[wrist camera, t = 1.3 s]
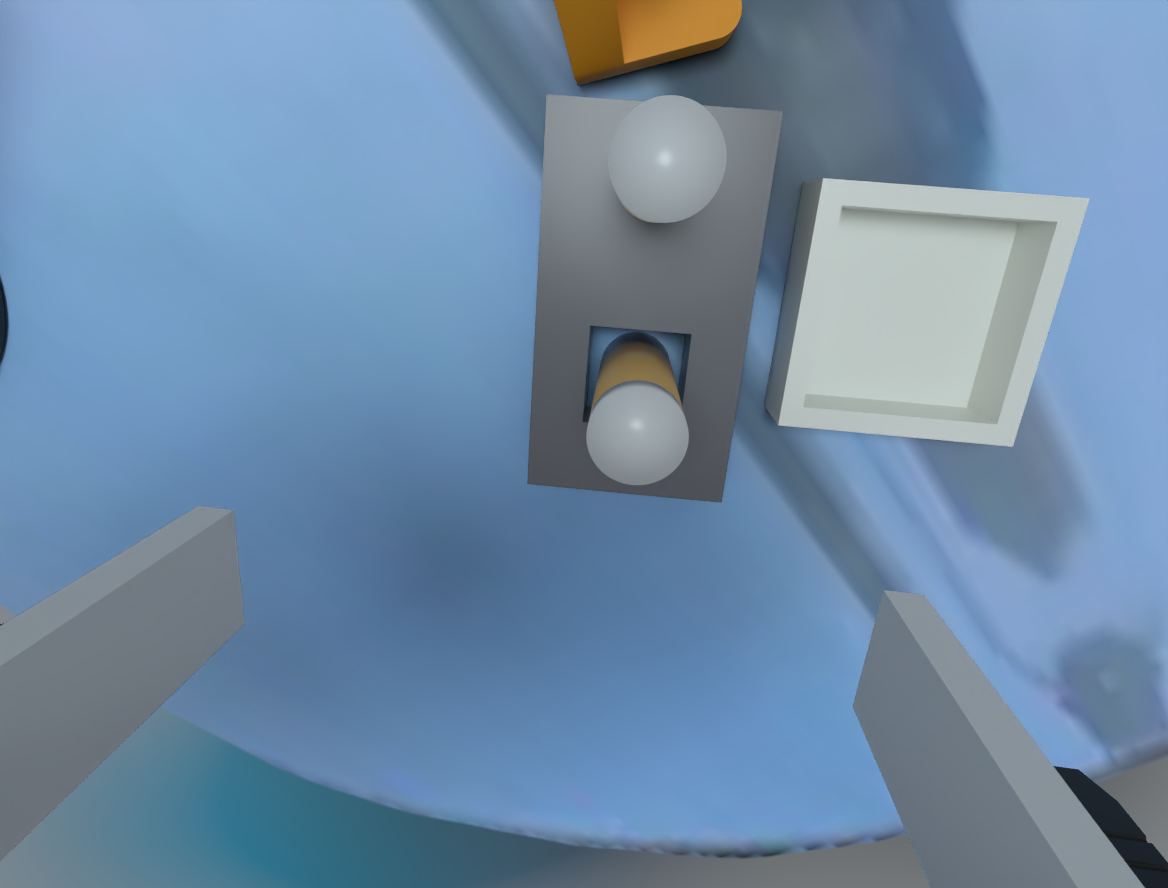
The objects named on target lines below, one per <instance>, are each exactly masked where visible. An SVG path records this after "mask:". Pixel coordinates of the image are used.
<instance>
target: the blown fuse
mask: <svg viewBox="0 0 1168 888" xmlns="http://www.w3.org/2000/svg"><path fill="white" fill-rule="evenodd" d="M586 440H587V447H588V451H589V454H590V456H591V458H592V460H593V462H594V463H595V464H596V466H597V467H598V468H599V469H600V470H601V471H602V472H603V473H604V474H605V475H607V476H608V477H610V478H611V479H613V480H615V481H618V482H620V483H624V484H629V485H646V484H651V483H654V482H657V481H659V480H661V479H664V478H665V477H667V476H668V475H670V474H671V473H672V472H673V471H674V470H675V469H676V468H677V467H678V466H679V464H680V463H681V462H682V460H683V458H684V456H685V454H686V451H687V447H688V441H689V432H688V426H687V422H686V418H685V415H684V411H683V407H682V404H681V400H680V397H679V393H678V389H677V386H676V382H675V379H674V375H673V371H672V368H671V364H670V361H669V357H668V354H667V351H666V350H665V348H664V346H663V345H662V344H661V343H660V342H659V341H658V340H657V339H656V338H654V337H653V336H651V335H648V334H645V333H641V332H631V333H626V334H623V335H621V336H619V337H617V338H616V339H614V340H613V341H612V342H611V343H610V344H609V345H608V347H607V348H606V350H605V352H604V354H603V357H602V361H601V366H600V370H599V375H598V380H597V384H596V389H595V394H594V399H593V403H592V408H591V413H590V417H589V422H588V427H587V433H586Z"/></svg>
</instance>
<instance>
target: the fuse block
mask: <svg viewBox="0 0 1168 888" xmlns="http://www.w3.org/2000/svg"><path fill="white" fill-rule="evenodd" d="M782 117H783V111H773V110H759V109H745V108H731V107H717V106H703V105H700V104H699V103H697V102H696V101H694V100H691V99H689V98H686V97H682V96H676V95H665V96H658V97H655V98H651V99H649V100H647V101H632V100H618V99H604V98H590V97H576V96H562V95H548V94H547V99H546V119H545V140H544V160H543V180H542V200H541V221H540V241H539V261H538V281H537V301H536V322H535V342H534V362H533V382H532V402H531V423H530V443H529V463H528V483H527V484H534V485H544V486H555V487H565V488H576V489H586V490H596V491H607V492H617V493H628V494H638V495H648V496H659V497H669V498H680V499H690V500H700V501H711V502H722V496H723V490H724V483H725V477H726V471H727V464H728V458H729V452H730V445H731V439H732V433H733V427H734V420H735V414H736V408H737V401H738V395H739V389H740V382H741V376H742V370H743V363H744V357H745V351H746V344H747V338H748V332H749V325H750V319H751V313H752V306H753V300H754V294H755V288H756V281H757V275H758V269H759V262H760V256H761V250H762V243H763V237H764V231H765V224H766V218H767V212H768V205H769V199H770V193H771V186H772V180H773V174H774V167H775V161H776V155H777V149H778V142H779V136H780V130H781V123H782ZM593 326H602V327H613V328H625V329H637V330H648V331H660V332H672V333H683V334H685V341H684V349H683V357H682V365H681V373H680V381H679V389H678V393H679V397H680V400H681V404H682V407H683V411H684V415H685V418H686V422H687V426H688V432H689V441H688V447H687V451H686V454H685V456H684V458H683V460H682V462H681V463H680V464H679V466H678V467H677V468H676V469H675V470H674V471H673V472H672V473H671V474H670V475H668V476H667V477H665V478H664V479H661V480H659V481H657V482H654V483H651V484H646V485H629V484H624V483H620V482H618V481H615V480H613V479H611V478H610V477H608V476H607V475H605V474H604V473H603V472H602V471H601V470H600V469H599V468H598V467H597V466H596V464H595V463H594V462H593V460H592V458H591V456H590V454H589V451H588V447H587V440H586V433H587V427H588V422H589V417H590V413H591V408H592V406H587V394H588V381H589V368H590V355H591V343H592V330H593Z"/></svg>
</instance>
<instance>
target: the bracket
mask: <svg viewBox="0 0 1168 888" xmlns="http://www.w3.org/2000/svg"><path fill="white" fill-rule="evenodd" d="M554 2H555V6H556V10H557V13H558V17H559V21H560V25H561V28H562V32H563V36H564V40H565V43H566V47H567V51H568V55H569V59H570V62H571V66H572V70H573V74H574V77H575V80H576V82H577V85H582V84H586V83H590V82H593V81H597V80H601V79H605V78H608V77H612V76H616V75H620V74H624V73H627V72H631V71H635V70H639V69H642V68H646V67H650V66H654V65H657V64H661V63H665V62H669V61H673V60H676V59H680V58H684V57H688V56H691V55H695V54H699V53H703V52H707V51H710V50H714V49H717V48H719V47H721V46H723V45H724V44H725V43H726V42H727V41H728V40H729V38H730V37H731V35H732V33H733V31H734V29H735V27H736V26H737V24H738V22H739V19H740V16H741V12H742V2H741V0H554Z"/></svg>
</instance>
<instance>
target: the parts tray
mask: <svg viewBox="0 0 1168 888" xmlns="http://www.w3.org/2000/svg"><path fill="white" fill-rule="evenodd" d="M1089 199H1090V198H1078V197H1065V196H1051V195H1038V194H1025V193H1012V192H998V191H985V190H972V189H958V188H945V187H932V186H919V185H905V184H892V183H879V182H865V181H852V180H839V179H826V178H822V179H818V180H814V181H809V182H805V183H802V189H801V195H800V201H799V206H798V212H797V218H796V224H795V230H794V235H793V241H792V247H791V253H790V258H789V264H788V270H787V276H786V282H785V287H784V293H783V299H782V305H781V311H780V316H779V322H778V328H777V334H776V340H775V345H774V351H773V357H772V363H771V369H770V374H769V380H768V386H767V392H766V397H765V403H764V406H765V408H766V409H767V410H768V412H769V413H770V415H771V416H772V417H773V419H774V420H775V421H776V423H777V424H778V425H781V426H792V427H803V428H814V429H825V430H836V431H847V432H858V433H869V434H880V435H891V436H902V437H913V438H924V439H935V440H946V441H957V442H968V443H979V444H990V445H1001V446H1012V447H1013V444H1014V441H1015V437H1016V434H1017V431H1018V428H1019V424H1020V421H1021V418H1022V415H1023V412H1024V408H1025V405H1026V402H1027V399H1028V396H1029V392H1030V389H1031V386H1032V383H1033V379H1034V376H1035V373H1036V370H1037V367H1038V363H1039V360H1040V357H1041V354H1042V351H1043V347H1044V344H1045V341H1046V338H1047V334H1048V331H1049V328H1050V325H1051V322H1052V318H1053V315H1054V312H1055V309H1056V306H1057V302H1058V299H1059V296H1060V293H1061V289H1062V286H1063V283H1064V280H1065V277H1066V273H1067V270H1068V267H1069V264H1070V261H1071V257H1072V254H1073V251H1074V248H1075V244H1076V241H1077V238H1078V235H1079V232H1080V228H1081V225H1082V222H1083V219H1084V215H1085V212H1086V209H1087V206H1088V203H1089Z"/></svg>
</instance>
